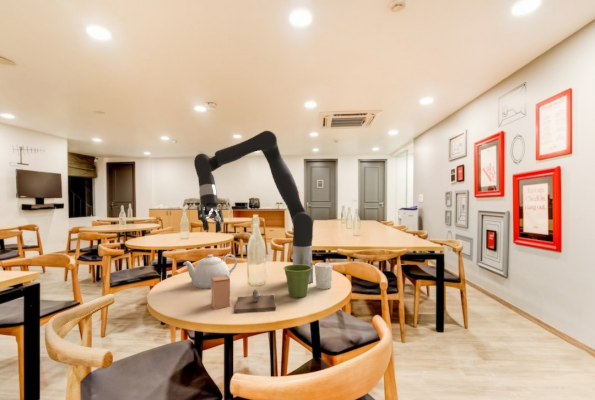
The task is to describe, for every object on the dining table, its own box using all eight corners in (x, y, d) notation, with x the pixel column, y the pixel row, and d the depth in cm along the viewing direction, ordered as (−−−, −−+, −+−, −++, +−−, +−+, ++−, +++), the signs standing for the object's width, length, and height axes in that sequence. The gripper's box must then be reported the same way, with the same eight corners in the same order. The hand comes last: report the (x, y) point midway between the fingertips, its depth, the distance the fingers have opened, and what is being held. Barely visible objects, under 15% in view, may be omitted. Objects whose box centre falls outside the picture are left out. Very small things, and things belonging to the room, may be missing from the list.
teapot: (221, 290, 112) (221, 259, 112) (182, 288, 115) (182, 258, 115) (237, 278, 130) (237, 251, 130) (203, 276, 133) (203, 250, 133)
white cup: (321, 291, 111) (320, 267, 111) (311, 285, 118) (311, 263, 118) (336, 288, 115) (336, 265, 115) (326, 283, 122) (326, 261, 122)
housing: (226, 301, 100) (226, 275, 100) (229, 306, 95) (229, 278, 95) (211, 303, 97) (211, 277, 97) (214, 309, 92) (214, 281, 92)
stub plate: (273, 297, 103) (273, 283, 103) (275, 310, 91) (275, 294, 91) (237, 300, 101) (237, 285, 101) (235, 312, 89) (235, 296, 89)
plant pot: (314, 291, 111) (314, 264, 111) (309, 301, 99) (308, 272, 99) (288, 289, 114) (288, 263, 114) (279, 298, 102) (279, 270, 102)
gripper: (204, 190, 110) (209, 227, 106) (224, 196, 123) (229, 229, 119) (190, 195, 112) (194, 232, 108) (212, 201, 125) (216, 233, 121)
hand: (213, 230), depth 113 cm, fingers open, 8 cm apart
